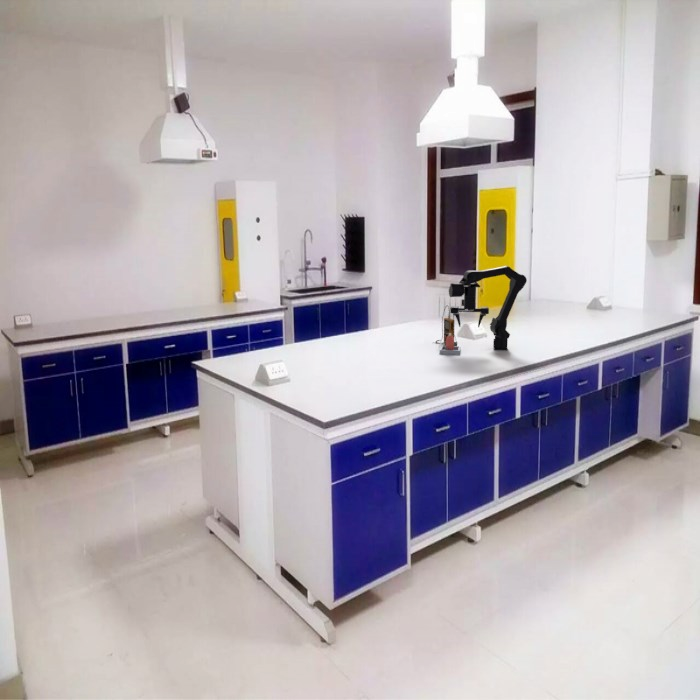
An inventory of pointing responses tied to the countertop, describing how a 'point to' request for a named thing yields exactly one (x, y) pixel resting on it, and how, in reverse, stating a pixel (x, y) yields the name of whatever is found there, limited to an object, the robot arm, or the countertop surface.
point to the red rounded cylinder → (449, 342)
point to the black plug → (454, 344)
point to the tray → (455, 351)
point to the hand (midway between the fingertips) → (469, 327)
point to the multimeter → (447, 327)
